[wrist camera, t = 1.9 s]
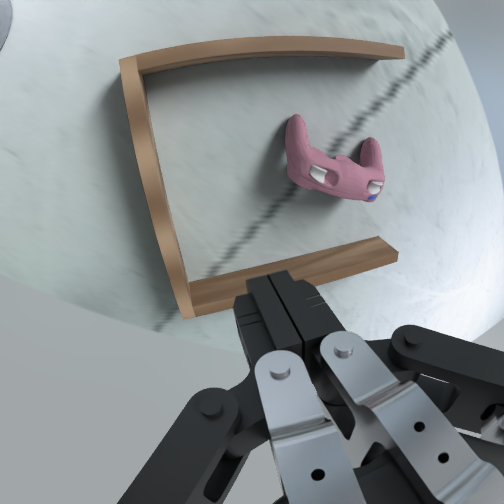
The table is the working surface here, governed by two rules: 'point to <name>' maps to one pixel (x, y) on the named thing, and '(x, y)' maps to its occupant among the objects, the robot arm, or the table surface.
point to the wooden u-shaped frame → (186, 293)
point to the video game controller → (333, 166)
